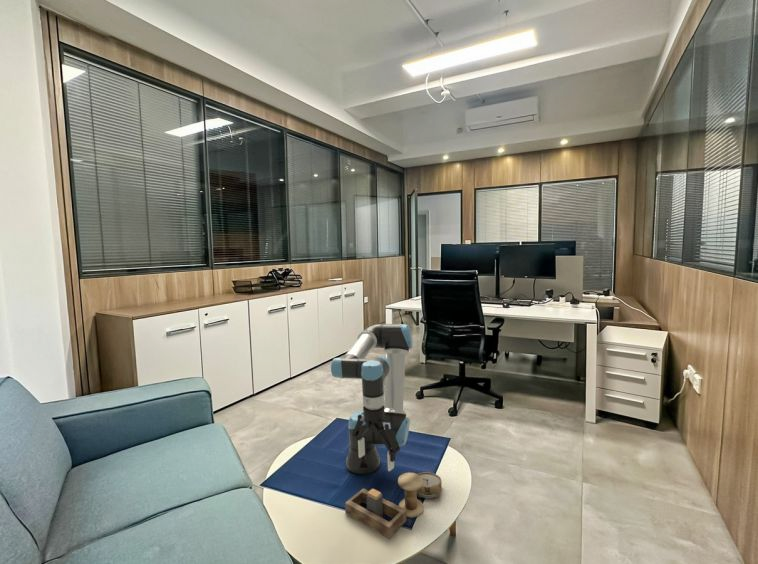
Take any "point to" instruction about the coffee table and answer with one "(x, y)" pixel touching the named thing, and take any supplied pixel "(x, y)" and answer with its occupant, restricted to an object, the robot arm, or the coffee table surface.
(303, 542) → the coffee table surface
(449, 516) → the coffee table surface
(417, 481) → the bobbin
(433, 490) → the alarm clock
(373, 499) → the grey upright block
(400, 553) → the coffee table surface
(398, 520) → the open rectangular wooden frame
